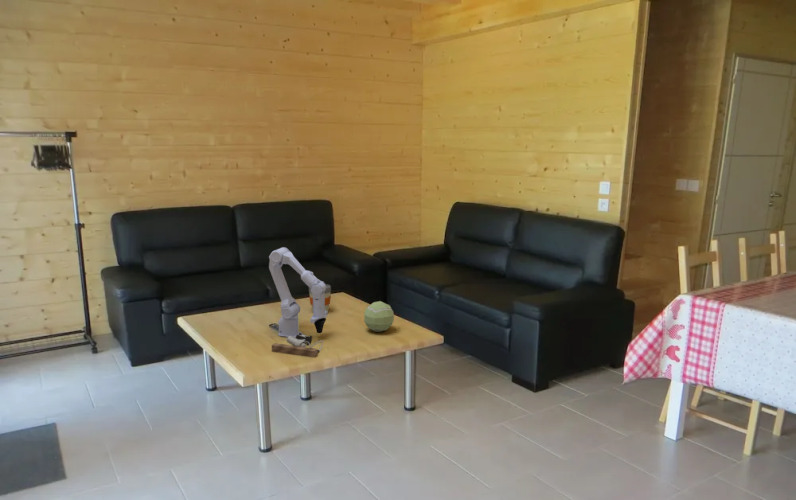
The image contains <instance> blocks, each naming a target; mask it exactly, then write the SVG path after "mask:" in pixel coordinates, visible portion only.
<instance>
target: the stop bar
mask: <svg viewBox="0 0 796 500" xmlns="http://www.w3.org/2000/svg"><path fill="white" fill-rule="evenodd" d="M317 350H318V348H313V347H311V348H310V347H307V346H305V347H300V346H293V345H291V344H284V343H277V342H276V343H273V344H272V345H271V352H273V353H275V352H276V353H281V354H287V355H288V354H289V355H295V356H301V357H309V358H316V357H317V356H318V353H319V352H318V351H317Z"/></svg>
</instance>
